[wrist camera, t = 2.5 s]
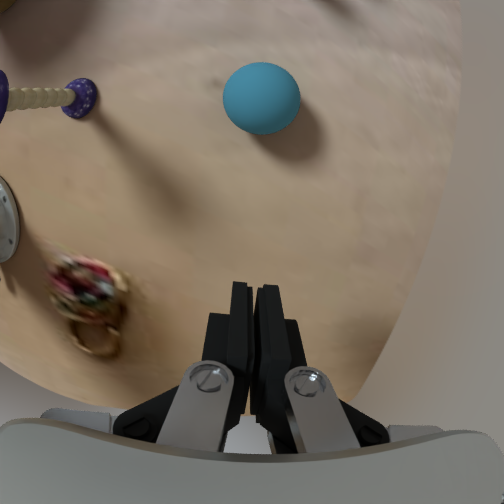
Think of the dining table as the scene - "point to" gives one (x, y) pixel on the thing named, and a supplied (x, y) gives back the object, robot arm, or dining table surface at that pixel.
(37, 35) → the dining table surface
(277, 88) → the ball
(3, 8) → the plant pot
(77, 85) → the toy lamp
